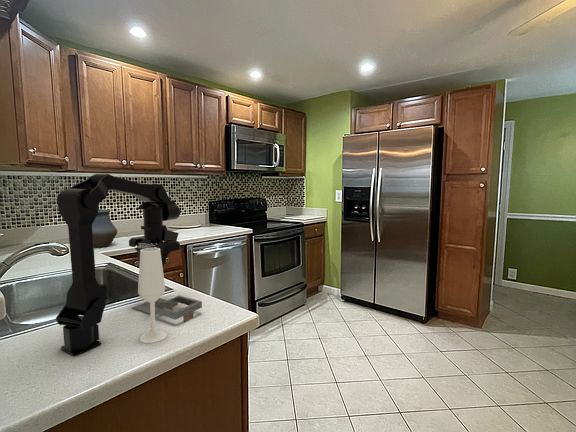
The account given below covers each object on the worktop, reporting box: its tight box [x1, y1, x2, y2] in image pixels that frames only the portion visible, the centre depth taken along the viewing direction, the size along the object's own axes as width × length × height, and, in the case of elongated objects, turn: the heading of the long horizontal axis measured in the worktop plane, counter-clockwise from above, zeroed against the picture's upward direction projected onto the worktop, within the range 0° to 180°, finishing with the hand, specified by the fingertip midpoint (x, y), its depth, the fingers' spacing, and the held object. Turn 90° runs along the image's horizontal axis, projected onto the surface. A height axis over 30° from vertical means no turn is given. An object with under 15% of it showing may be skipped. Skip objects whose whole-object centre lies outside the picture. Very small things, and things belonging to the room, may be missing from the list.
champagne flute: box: [137, 247, 168, 344], centre depth 81 cm, size 7×7×24 cm
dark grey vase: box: [92, 208, 118, 249], centre depth 196 cm, size 21×22×25 cm
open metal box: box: [155, 295, 203, 322], centre depth 95 cm, size 10×10×4 cm
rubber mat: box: [131, 297, 179, 316], centre depth 102 cm, size 10×10×1 cm
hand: (154, 269), depth 101 cm, fingers closed on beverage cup, 5 cm apart
